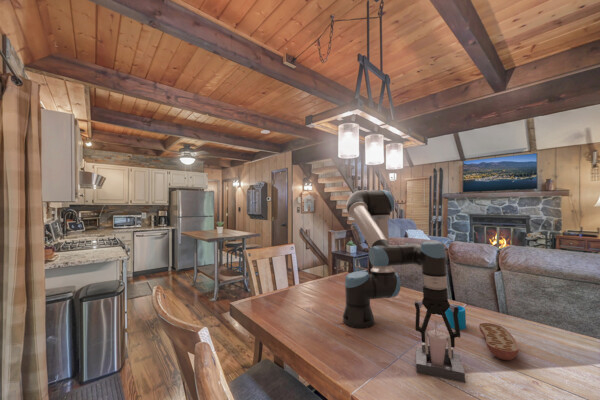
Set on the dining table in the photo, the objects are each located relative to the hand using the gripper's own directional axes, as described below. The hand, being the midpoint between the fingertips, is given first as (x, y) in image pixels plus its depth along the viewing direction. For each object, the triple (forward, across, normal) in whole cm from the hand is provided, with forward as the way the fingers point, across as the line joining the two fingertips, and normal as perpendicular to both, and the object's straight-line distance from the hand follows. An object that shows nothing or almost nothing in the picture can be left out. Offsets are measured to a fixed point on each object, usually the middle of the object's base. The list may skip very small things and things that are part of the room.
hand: (438, 353), depth 89 cm
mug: (+5, +10, +40) cm, 41 cm away
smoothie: (+3, 0, 0) cm, 3 cm away
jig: (+5, 0, 0) cm, 5 cm away
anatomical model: (+5, +22, +22) cm, 31 cm away
